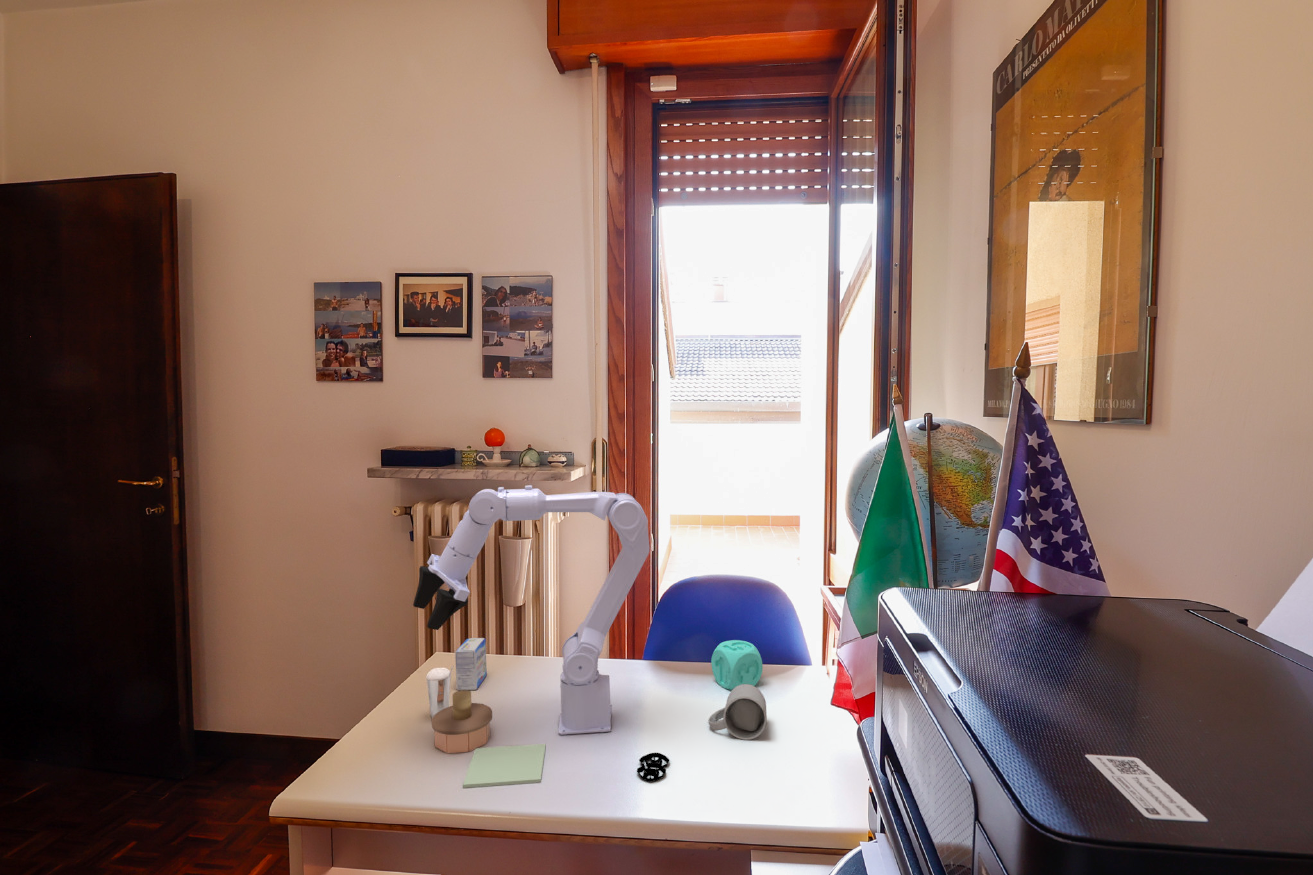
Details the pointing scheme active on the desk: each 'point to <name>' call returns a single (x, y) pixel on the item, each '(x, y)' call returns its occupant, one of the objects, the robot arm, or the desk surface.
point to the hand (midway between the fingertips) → (425, 617)
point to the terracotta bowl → (462, 740)
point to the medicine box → (471, 664)
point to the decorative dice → (736, 664)
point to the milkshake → (438, 689)
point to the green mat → (505, 765)
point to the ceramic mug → (742, 713)
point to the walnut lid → (462, 715)
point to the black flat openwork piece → (649, 770)
